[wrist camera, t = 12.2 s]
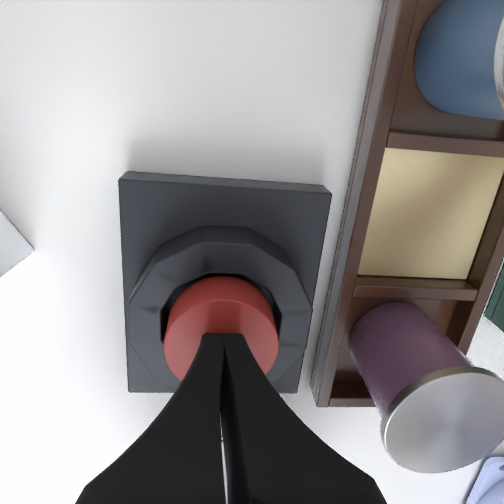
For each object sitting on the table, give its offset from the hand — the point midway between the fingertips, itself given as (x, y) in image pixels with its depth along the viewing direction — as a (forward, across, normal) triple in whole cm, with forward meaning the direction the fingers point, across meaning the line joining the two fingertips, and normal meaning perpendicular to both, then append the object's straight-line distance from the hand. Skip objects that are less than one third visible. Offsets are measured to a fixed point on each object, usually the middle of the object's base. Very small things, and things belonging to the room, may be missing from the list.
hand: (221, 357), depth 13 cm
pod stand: (+5, -8, -4) cm, 11 cm away
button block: (+5, 0, 0) cm, 5 cm away
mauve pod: (+5, -8, +2) cm, 10 cm away
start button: (+2, 0, 0) cm, 2 cm away
